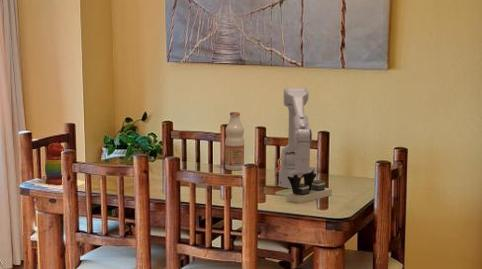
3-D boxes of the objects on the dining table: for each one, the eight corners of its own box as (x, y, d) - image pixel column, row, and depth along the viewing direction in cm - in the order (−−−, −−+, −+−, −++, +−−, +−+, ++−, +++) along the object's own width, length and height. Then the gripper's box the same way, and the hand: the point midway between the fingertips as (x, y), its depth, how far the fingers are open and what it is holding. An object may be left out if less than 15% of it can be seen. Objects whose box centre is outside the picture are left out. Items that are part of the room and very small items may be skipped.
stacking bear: (59, 185, 300) (58, 145, 298) (39, 183, 304) (38, 143, 301) (73, 181, 310) (72, 141, 308) (54, 179, 314) (53, 140, 311)
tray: (275, 195, 285) (275, 192, 284) (289, 192, 291) (289, 188, 291) (292, 199, 278) (292, 195, 278) (306, 196, 285) (306, 192, 285)
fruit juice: (221, 169, 340) (221, 112, 336) (230, 166, 348) (231, 111, 344) (238, 171, 336) (238, 114, 332) (247, 168, 344) (247, 112, 340)
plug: (293, 199, 276) (293, 184, 275) (300, 197, 279) (300, 183, 278) (302, 201, 273) (302, 186, 272) (308, 199, 276) (309, 184, 275)
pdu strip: (286, 201, 274) (286, 193, 274) (317, 193, 289) (318, 186, 288) (300, 204, 270) (300, 196, 269) (331, 196, 284) (331, 189, 283)
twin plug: (309, 195, 283) (310, 181, 282) (316, 194, 286) (316, 179, 285) (318, 197, 280) (318, 182, 279) (324, 195, 283) (324, 181, 282)
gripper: (298, 162, 265) (297, 196, 267) (321, 157, 276) (321, 191, 277) (284, 159, 270) (283, 193, 272) (307, 155, 280) (307, 188, 282)
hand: (301, 192), depth 275 cm, fingers open, 7 cm apart
